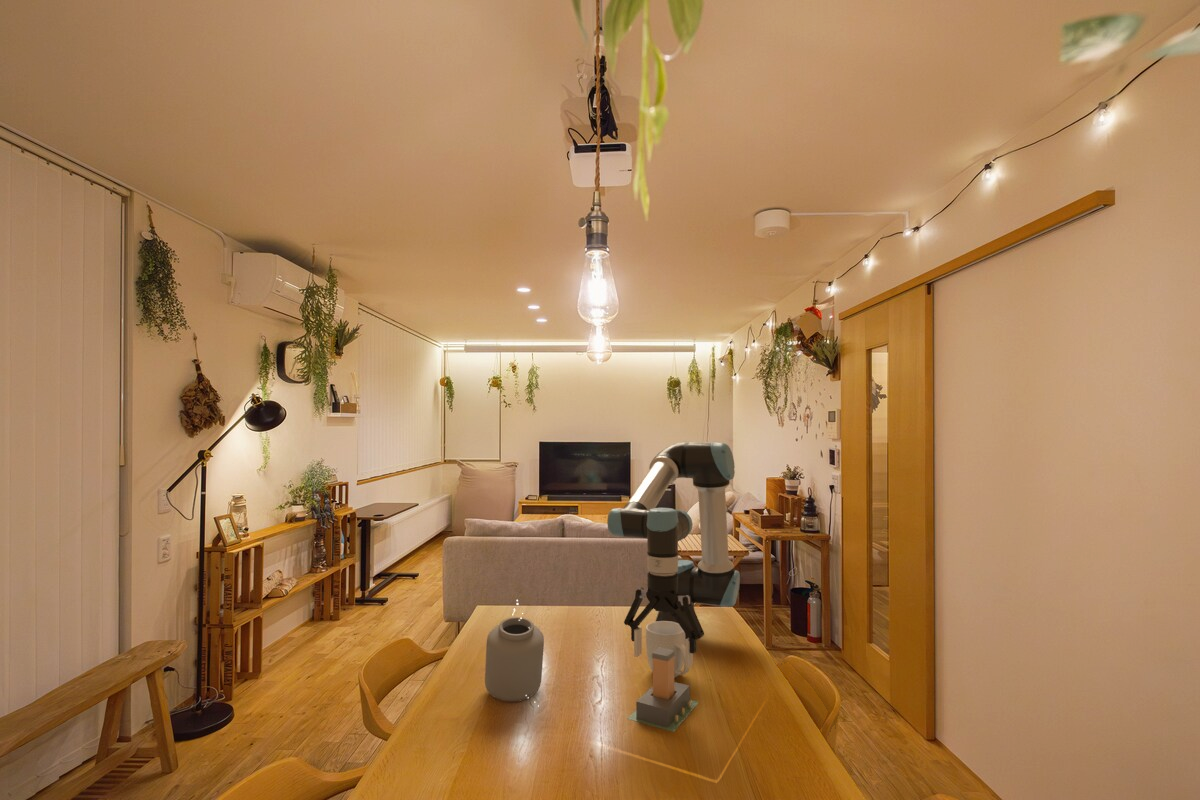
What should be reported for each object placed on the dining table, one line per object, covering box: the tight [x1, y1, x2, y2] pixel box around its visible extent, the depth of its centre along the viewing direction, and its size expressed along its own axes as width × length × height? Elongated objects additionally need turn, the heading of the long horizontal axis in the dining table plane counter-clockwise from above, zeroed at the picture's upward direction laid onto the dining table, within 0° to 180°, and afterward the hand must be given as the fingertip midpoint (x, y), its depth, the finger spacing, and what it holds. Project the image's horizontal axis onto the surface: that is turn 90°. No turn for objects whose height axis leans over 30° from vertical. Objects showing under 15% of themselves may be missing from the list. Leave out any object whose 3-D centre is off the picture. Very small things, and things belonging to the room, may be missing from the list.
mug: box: [645, 621, 690, 679], centre depth 159 cm, size 15×11×13 cm
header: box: [626, 681, 699, 733], centre depth 140 cm, size 16×12×4 cm
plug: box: [652, 647, 676, 700], centre depth 140 cm, size 4×4×14 cm
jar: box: [484, 599, 545, 708], centre depth 149 cm, size 19×15×25 cm
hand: (663, 660), depth 140 cm, fingers open, 13 cm apart
